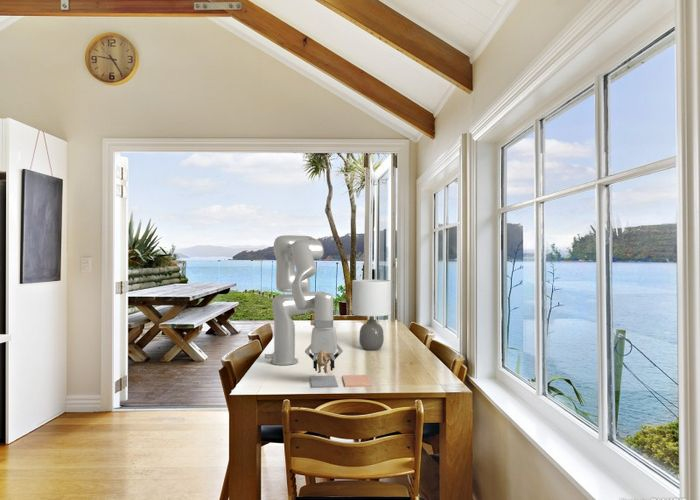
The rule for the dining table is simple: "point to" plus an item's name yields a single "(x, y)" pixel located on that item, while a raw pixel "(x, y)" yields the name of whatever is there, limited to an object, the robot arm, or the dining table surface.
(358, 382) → the terracotta tile
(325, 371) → the lion figurine
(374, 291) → the lamp
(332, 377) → the slate tile
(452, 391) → the dining table surface
